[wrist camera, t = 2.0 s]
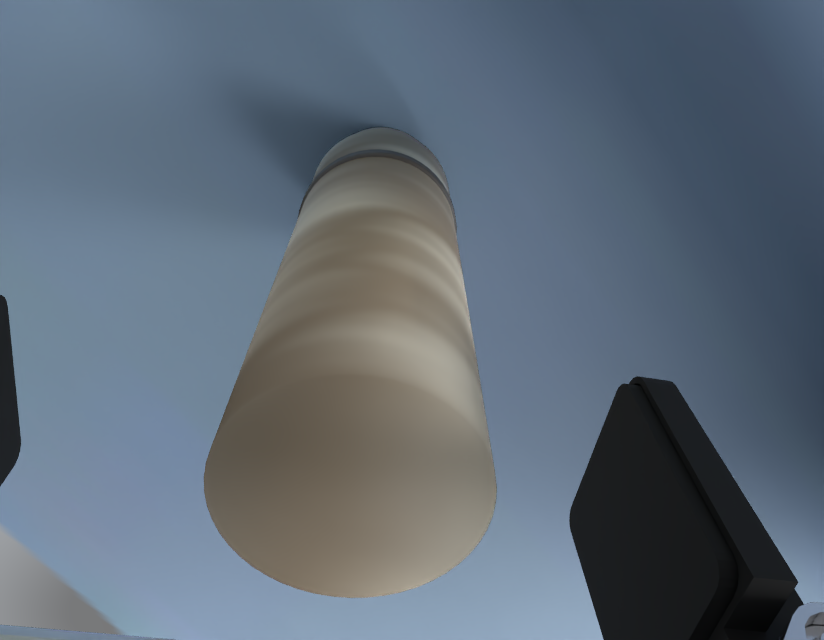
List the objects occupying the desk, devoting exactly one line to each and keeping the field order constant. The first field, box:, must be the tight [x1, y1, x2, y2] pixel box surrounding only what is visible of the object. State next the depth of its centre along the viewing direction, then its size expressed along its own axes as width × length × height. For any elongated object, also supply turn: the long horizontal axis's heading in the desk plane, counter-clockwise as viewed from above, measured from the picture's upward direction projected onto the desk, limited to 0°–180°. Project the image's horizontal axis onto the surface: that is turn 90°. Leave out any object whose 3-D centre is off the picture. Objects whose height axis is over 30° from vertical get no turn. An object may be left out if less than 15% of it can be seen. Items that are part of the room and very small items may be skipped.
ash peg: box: [204, 127, 497, 598], centre depth 16 cm, size 4×4×14 cm
